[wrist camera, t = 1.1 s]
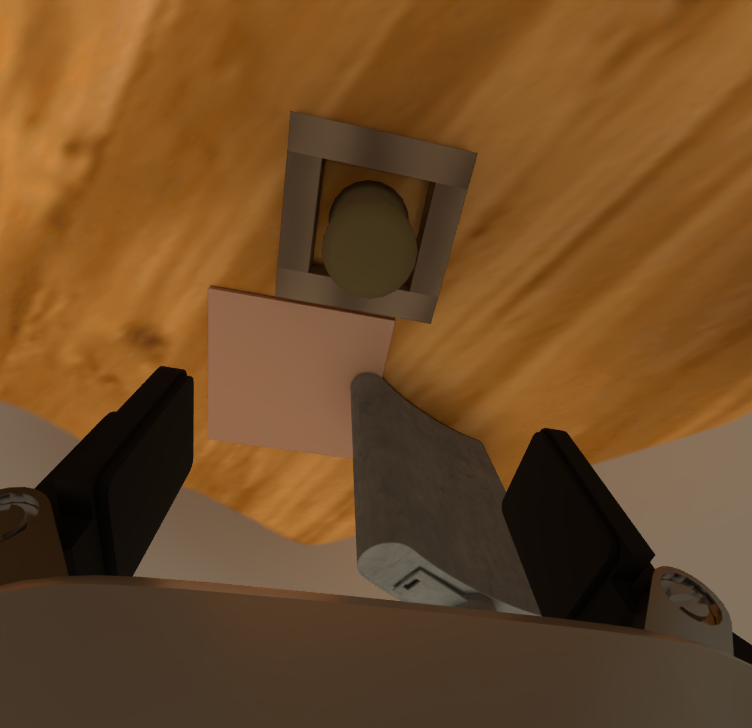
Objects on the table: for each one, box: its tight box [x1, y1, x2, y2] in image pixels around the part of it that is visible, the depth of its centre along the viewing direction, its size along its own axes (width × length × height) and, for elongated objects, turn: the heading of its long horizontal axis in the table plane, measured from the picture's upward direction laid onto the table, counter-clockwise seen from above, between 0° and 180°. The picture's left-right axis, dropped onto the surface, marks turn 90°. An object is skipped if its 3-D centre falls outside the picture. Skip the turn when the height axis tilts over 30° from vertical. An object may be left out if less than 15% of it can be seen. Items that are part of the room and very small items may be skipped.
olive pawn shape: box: [322, 180, 418, 299], centre depth 26 cm, size 6×6×11 cm
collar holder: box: [275, 111, 478, 324], centre depth 29 cm, size 12×12×2 cm
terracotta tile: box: [208, 286, 395, 459], centre depth 36 cm, size 15×15×1 cm
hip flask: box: [350, 373, 541, 616], centre depth 30 cm, size 16×4×20 cm, turn 52°
